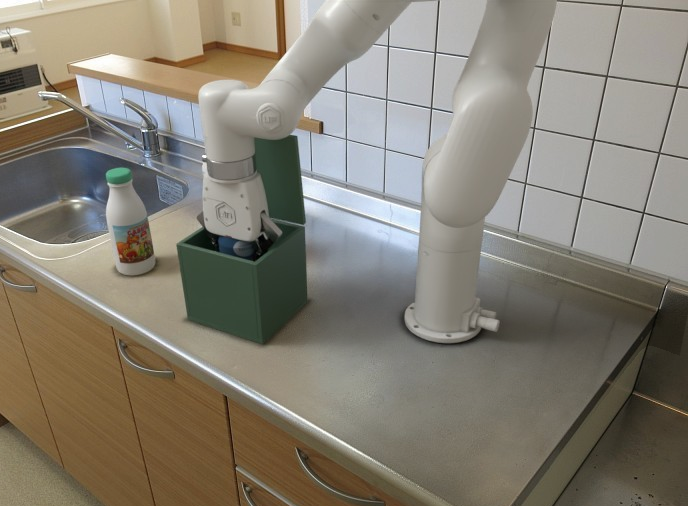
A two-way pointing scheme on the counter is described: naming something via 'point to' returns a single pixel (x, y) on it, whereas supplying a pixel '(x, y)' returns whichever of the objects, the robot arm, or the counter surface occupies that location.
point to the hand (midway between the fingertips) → (242, 266)
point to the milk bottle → (128, 225)
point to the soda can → (236, 247)
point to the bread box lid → (281, 177)
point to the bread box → (244, 284)
